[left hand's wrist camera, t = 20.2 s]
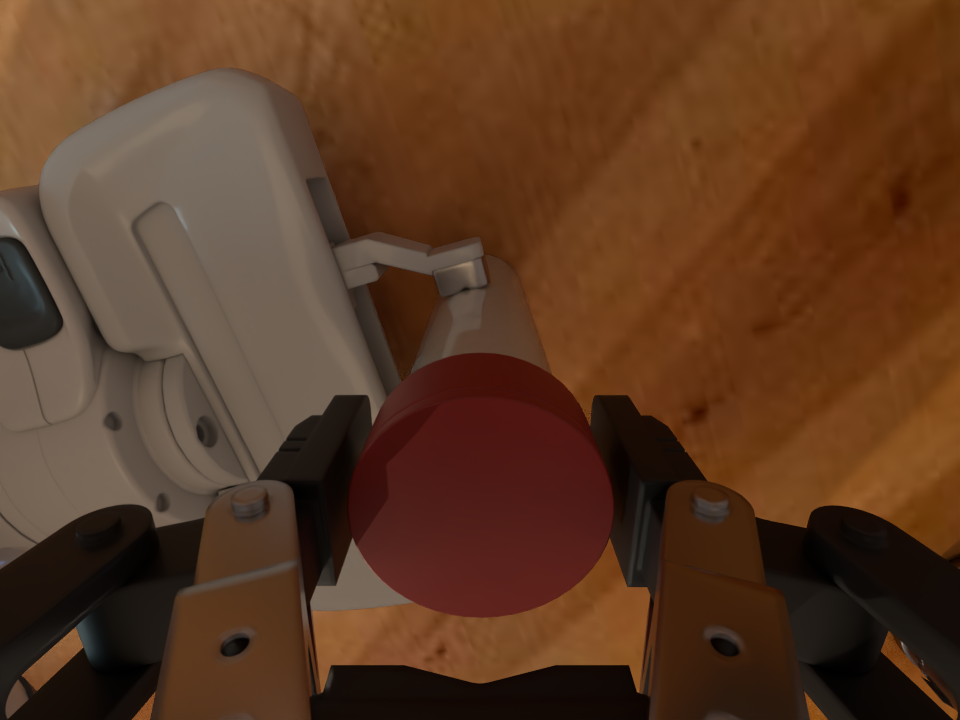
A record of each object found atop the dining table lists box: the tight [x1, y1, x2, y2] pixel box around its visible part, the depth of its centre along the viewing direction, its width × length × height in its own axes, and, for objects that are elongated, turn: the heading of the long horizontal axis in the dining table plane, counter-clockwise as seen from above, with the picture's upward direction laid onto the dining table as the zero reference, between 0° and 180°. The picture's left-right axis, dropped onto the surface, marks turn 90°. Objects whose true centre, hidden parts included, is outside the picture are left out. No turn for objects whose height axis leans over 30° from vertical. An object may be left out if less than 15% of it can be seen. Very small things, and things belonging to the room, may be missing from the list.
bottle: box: [410, 255, 552, 375], centre depth 17 cm, size 4×4×16 cm
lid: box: [347, 353, 615, 618], centre depth 10 cm, size 5×5×2 cm
